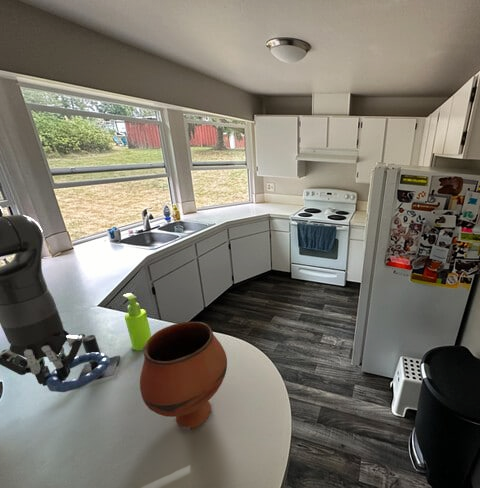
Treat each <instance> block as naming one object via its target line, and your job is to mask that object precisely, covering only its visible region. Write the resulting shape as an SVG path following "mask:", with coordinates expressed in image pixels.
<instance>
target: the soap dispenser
mask: <svg viewBox="0 0 480 488" xmlns="http://www.w3.org/2000/svg"><path fill="white" fill-rule="evenodd" d="M122 297H123V298H125V299H127V300H128V305H126V306H127V307H126V310H127V313H126V314H125V315H124V320H125V324H126V329H127V331H128V335H129V339H130V343H131V346H132V349H133V350H134V351H144V346H145V344H146V343H147V341H148V340H149V339H150V338H151V337H152V332H151V328H150V325H149V320H148V315H147V311H146V309H143V308H141V306H140V303H139V302H136V300H137V296H136V295H135V294H133V293H130V292H128V293H125V294H123V295H122Z"/></svg>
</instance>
